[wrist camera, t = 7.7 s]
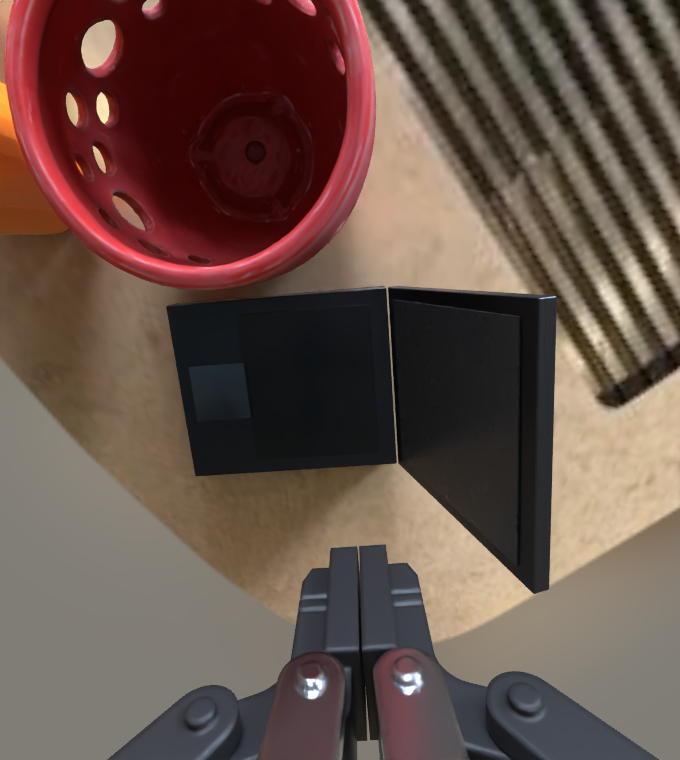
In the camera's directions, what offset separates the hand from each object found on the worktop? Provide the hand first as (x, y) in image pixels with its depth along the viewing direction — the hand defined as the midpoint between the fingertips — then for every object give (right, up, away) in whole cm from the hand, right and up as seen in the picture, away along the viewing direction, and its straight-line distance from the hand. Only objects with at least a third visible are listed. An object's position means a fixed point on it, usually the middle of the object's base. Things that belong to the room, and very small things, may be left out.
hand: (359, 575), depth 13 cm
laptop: (-4, +5, +18) cm, 19 cm away
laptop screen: (+4, +4, +10) cm, 11 cm away
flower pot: (-5, +18, +15) cm, 24 cm away
